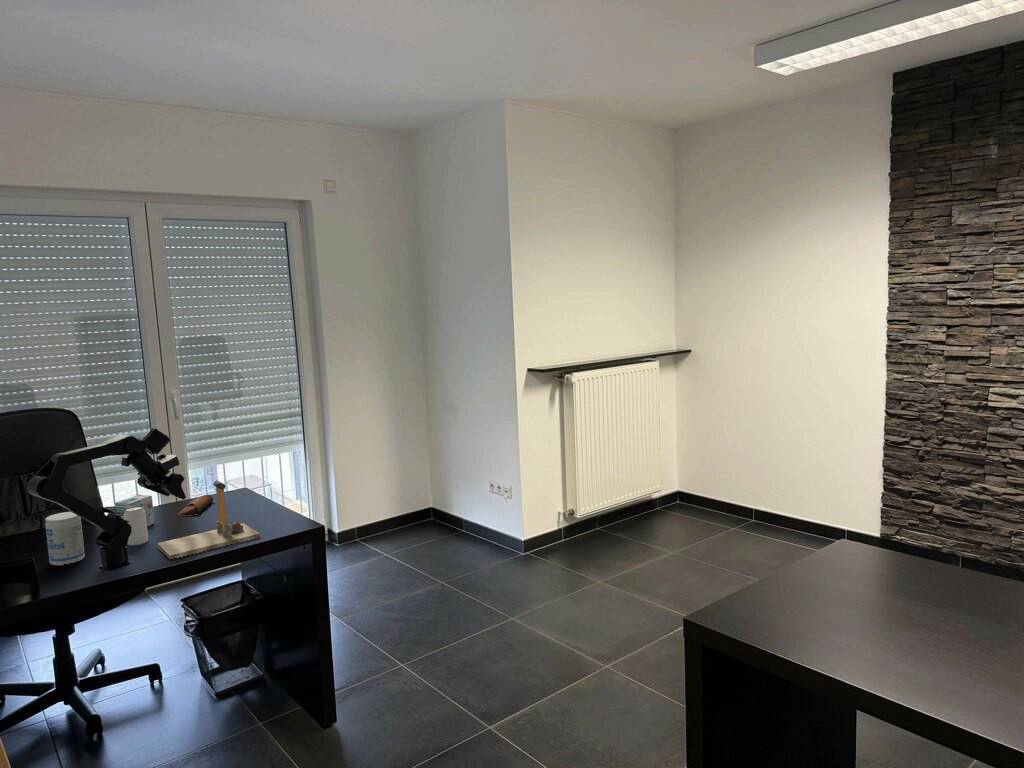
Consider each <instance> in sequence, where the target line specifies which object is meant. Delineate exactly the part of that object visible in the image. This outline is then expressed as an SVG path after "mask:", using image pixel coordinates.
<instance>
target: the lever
mask: <svg viewBox="0 0 1024 768" xmlns="http://www.w3.org/2000/svg"><path fill="white" fill-rule="evenodd" d="M213 486H214V487H215V493H216V502H217V514H218V521H219V523H220V524H221V525H228V524H229V523H228V515H227V514H228V513H227V504H226V495H225V488H226V484H225V483H222V482H221V481H219V480H215V481H214V482H213Z"/></svg>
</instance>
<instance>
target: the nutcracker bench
mask: <svg viewBox="0 0 1024 768" xmlns="http://www.w3.org/2000/svg"><path fill="white" fill-rule="evenodd" d="M215 523H216V524H215V525H216V529H212V530H208V531H203V532H200V533H196V534H195V533H194V534H191V535H187V536H182V537H178V538H174V539H170V540H165V541H160V542H157V548H158V550H160V551H161V553H163V554H164V555H165V556H166V557H167V558H168V559H169V560H170V559H173V558H177V559H180V558H179V557H181V558H184V557H183V556H185V557H188V556H187V555H189V556H192V554H193V555H196V553H197V554H200V553H199V552H201V553H204V552H203V551H205V552H207V551H206V550H209V551H211V550H210V549H213V548H217V547H221V546H225V545H229V546H231V545H230V544H233V545H237V544H241V543H246V542H249V541H252V540H256V539H257V540H258V539H260V538H261V535H260V532H258V531H257V530H255V529H253V528H252V527H251V526H249V525H247V524H246V523H244V522H241V523H240V522H238V521H236V522H232V524H230V523H228V525H221V524H220V523H219V520H216V521H215ZM236 543H237V544H236ZM225 547H226V546H225ZM221 548H222V547H221ZM217 549H218V548H217ZM213 550H214V549H213ZM173 560H174V559H173Z"/></svg>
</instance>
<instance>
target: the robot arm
mask: <svg viewBox="0 0 1024 768" xmlns="http://www.w3.org/2000/svg"><path fill="white" fill-rule="evenodd" d="M169 443H171V439H170V438H169V436H168V435H167V434H165V433H163V432H162V431H161V430H158V428H156V427H155V428H154V427H152V428H151V429H150V430H149V432H148V433H147V434H146V435H145V436H144V437H143V438H142V439H139V438H137V437H135V436H133V435H128V434H127V435H126V434H118V435H115V436H112V437H110V438H108V439H106V440H105V441H103V442H101V443H98V444H94V445H90V446H85V447H81V448H76V449H73V450H70V451H65V452H57V453H55V454H53V455H52V456H51V457H50V459H49V460H48V461H47V463H45V464H44V465H43V466H42V467H41V468H40V469H39V470H38V471H37V472H36V474H35V475H34V476H33V477H31V478H30V479H29V480H28V482H27V485H26V491H27V493H28V494H30V495H31V496H35V497H37V498H40V499H41V500H42V499H44V500H45V501H49V502H52V503H55V504H57V505H58V506H60V507H62V508H64V509H65V510H67V511H68V512H72V513H74V514H76V515H77V516H79V517H81V519H83V520H85V521H86V522H88V523H89V524H91V525H93V526H94V527H95V528H96V530H97V531H98V532H99V535H98V536H97V537H96V538H95V540H94V543H95V544H96V545H97V547H100V548H99V554H100V555H99V557H100V564H98V568H101V569H104V570H108V571H111V570H115V569H119V568H120V567H123V566H127V565H129V564H131V561H129V553H128V552H129V551H128V547H127V546H128V544H127V543H128V539H129V536H130V535H131V532H132V529H131V528H132V527H131V525H130V524H128V522H129V521H127V520H124V519H123V518H122V517H120V516H119V515H116V513H112V512H108V513H107V515H106V514H104V513H102V512H101V511H99V510H97V509H96V508H94V507H93V506H90V505H89V504H87V503H86V502H84V501H82V500H81V499H79V498H77V497H75V495H72V494H71V493H69V492H68V490H66V488H65V487H64V486H63V484H62V483H63V481H64V479H65V476H66V474H67V471H68V469H69V468H70V467H71V466H74V465H77V464H78V465H79V464H82V463H85V462H90V461H94V460H98V459H102V458H105V457H106V458H107V457H111V456H114V457H115V456H123V457H121V464H120V466H121V467H125V468H126V467H128V468H129V467H130V466H132V467H133V468H134V470H136V471H137V475H138V476H139V477H138V478H137V480H136V481H137V482H136V484H138V486H140V487H141V488H144V489H147V490H149V491H152V492H154V493H157V494H159V495H163V496H165V497H169V496H173V497H175V498H178V499H180V500H182V501H183V500H185V499H186V498H187V496H186V494H185V491H184V490H183V486H182V485H183V484H182V483H184V480H185V477H184V475H182V474H181V473H177V472H173V473H170V472H171V471H170V470H171V469H174V468H175V467H178V466H180V464H181V463H180V461H179V458H178V455H176V454H166V455H165V454H164V453H161V452H162V451H163V449H164V448H165V447H166V446H167V445H168V444H169ZM153 455H156V460H155V459H154V458H153V457H152V456H153ZM124 456H125V457H124ZM169 473H170V474H169ZM168 474H169V475H168Z"/></svg>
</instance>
